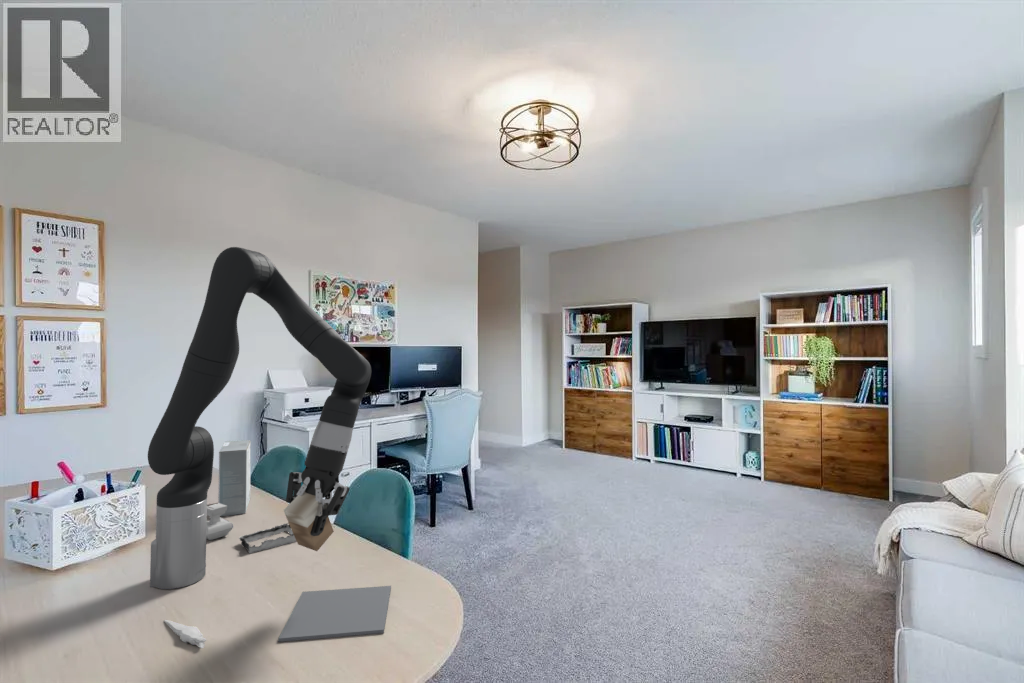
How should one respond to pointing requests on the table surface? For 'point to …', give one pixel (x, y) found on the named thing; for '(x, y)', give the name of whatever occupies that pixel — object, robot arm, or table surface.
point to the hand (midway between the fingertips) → (304, 531)
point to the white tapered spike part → (187, 633)
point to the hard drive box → (234, 476)
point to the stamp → (217, 522)
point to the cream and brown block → (306, 521)
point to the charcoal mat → (338, 613)
